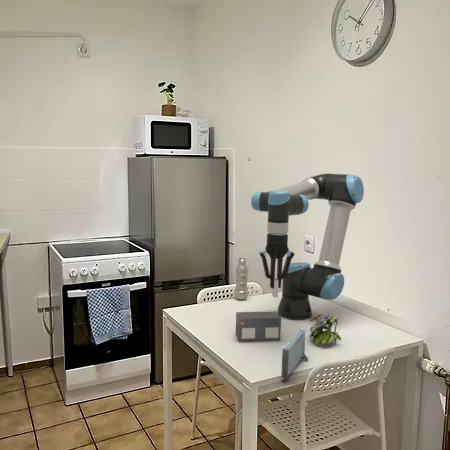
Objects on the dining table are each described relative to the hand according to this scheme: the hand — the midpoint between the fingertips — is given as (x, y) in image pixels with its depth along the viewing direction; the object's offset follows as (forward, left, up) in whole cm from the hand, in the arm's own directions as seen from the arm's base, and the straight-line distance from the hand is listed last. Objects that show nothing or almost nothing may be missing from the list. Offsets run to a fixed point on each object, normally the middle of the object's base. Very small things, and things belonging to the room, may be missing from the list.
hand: (275, 296), depth 181 cm
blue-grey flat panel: (-2, +22, -17) cm, 28 cm away
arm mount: (-6, +14, -18) cm, 24 cm away
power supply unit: (+5, -7, -18) cm, 20 cm away
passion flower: (-20, -1, -19) cm, 28 cm away
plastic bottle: (+3, -57, -19) cm, 60 cm away
